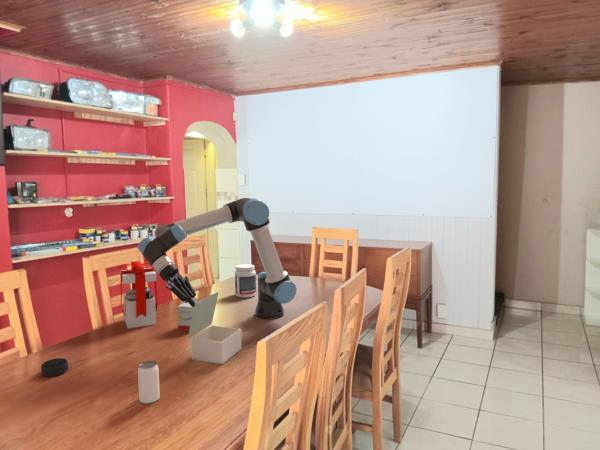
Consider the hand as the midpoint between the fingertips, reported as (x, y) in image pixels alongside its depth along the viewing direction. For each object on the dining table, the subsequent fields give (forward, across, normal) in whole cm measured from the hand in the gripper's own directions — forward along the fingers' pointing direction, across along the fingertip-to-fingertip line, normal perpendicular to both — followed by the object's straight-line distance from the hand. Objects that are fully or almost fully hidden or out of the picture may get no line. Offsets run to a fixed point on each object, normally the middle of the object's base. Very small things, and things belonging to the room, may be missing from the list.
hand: (201, 311), depth 184 cm
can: (+16, +39, -10) cm, 43 cm away
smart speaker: (-17, +34, -43) cm, 57 cm away
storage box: (+17, 0, -7) cm, 19 cm away
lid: (+2, 0, 0) cm, 2 cm away
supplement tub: (-4, -85, -28) cm, 90 cm away
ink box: (-3, -24, -28) cm, 37 cm away
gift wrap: (-23, -23, -48) cm, 58 cm away
